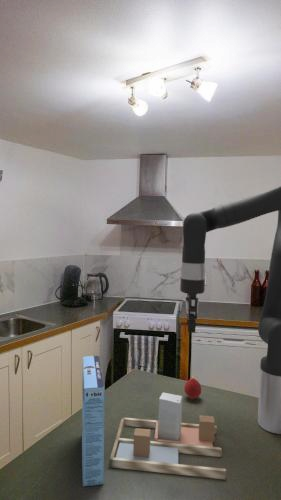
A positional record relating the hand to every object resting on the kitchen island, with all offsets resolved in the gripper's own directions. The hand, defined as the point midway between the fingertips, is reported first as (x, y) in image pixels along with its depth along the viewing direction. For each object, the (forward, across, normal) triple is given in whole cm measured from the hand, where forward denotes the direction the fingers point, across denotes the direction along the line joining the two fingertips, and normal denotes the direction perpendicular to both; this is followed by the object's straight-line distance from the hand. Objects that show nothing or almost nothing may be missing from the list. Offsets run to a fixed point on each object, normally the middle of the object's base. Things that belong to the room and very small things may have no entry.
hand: (190, 328), depth 103 cm
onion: (+28, +10, -2) cm, 30 cm away
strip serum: (+28, -14, +1) cm, 31 cm away
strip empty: (+28, -22, +11) cm, 37 cm away
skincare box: (+28, -14, +6) cm, 32 cm away
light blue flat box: (+28, -24, +25) cm, 45 cm away
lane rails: (+28, -18, +6) cm, 34 cm away
